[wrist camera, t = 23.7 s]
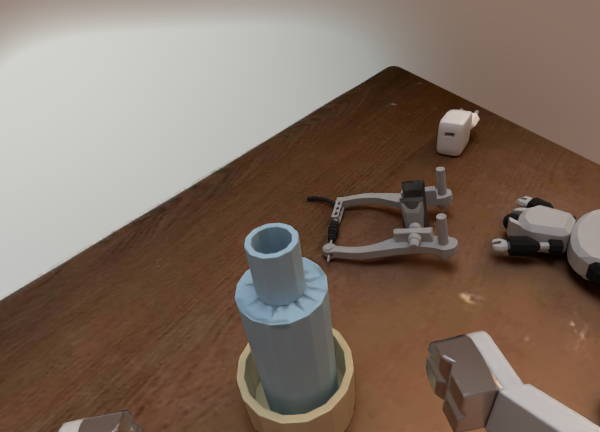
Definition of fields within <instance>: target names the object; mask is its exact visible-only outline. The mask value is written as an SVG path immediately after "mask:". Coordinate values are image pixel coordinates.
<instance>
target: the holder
mask: <svg viewBox="0 0 600 432" xmlns="http://www.w3.org/2000/svg"><path fill="white" fill-rule="evenodd" d="M332 332H333V342H334V351H335V360H336V370H337V379H338V389H339V390H338V391H337V392H336V393H335V394H334V395H333V396H332V397H331V398H330V400H329V401H328V402H327V403H326V404H325V405H323V406H321V407H318V408H316V409H314V410H312V411H310V412H308V413H306V414H295V415H281V414H278V413H276V412H273V411H271V410H270V408H269V405H268V402H267V399H266V396H265V393H264V390H263V386H262V383H261V380H260V377H259V374H258V371H257V367H256V364H255V361H254V358H253V355H252V352H251V348H250V345H249V342H248V344H247V346H246V347H245V349H244V351H243V353H242V354H241V356H240V358H239V364H238V371H237V383H238V386H239V389H240V392H241V395H242V398H243V401H244V404H245V406H246V409H247V412H248V414H249V417H250V419H251V422H252V425H253V427H254V429H255V430H256V431H257V432H344V431H345V430H346V428H347V427H348V425H349V423H350V421H351V418H352V416H353V412H354V407H355V400H356V398H355V382H354V368H353V360H352V352H351V349H350V348H349V346H348V344H347V343H346V341H345V340H344V338H343V336H342V335H341V334H340V333H339V332H338V331H337V330H335V329H334V328H332Z"/></svg>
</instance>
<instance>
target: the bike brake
mask: <svg viewBox="0 0 600 432" xmlns="http://www.w3.org/2000/svg"><path fill="white" fill-rule="evenodd" d="M436 177H437V189H435V186H432V187H425V185H424V180H417V181H405V182H401V183H402V191H401V194H397V193H366V194H359V195H353V196H347V197H339V198H337V200H336V203H335V202H333V201H332V200H330V199H327V198H324V197H316V196H311V197H307V200H320V201H324V202H327V203H329V204H331V205H332V206H333V207H334V209H333V212H332V215H331V218H332V222H331V223H330V226H329V230H328V234H329V235H328V241H329V242H330V243H328V244H326V245H324V246H323V252H324V255H325V257H326V258H327V262H329V260H330V259H333V258H343V259H369V258H376V257H385V256H392V255H402V254H419V253H420V254H433V255H437V257H438V258H440V259H441V260H442V261H447V260H449V258H450V257H451V256H453V255H455V254H456V253H457V252H458V241H457V240H456V239H455V238H452V237H449V236H448V229H447V217H446V215H445V214H442V213H441V214H438V215H437V216H436V222H437V233H438V236H434V233H433V229H432V228H427V226H429V222H428V213H427V206H437V207H439V208H440V209H441V210H446V209H447V207H448V206H449V205H450V202H452V200H453V196H452V192H451V190H449V189H446V178H445V168H444V167H438V168H436ZM359 204H382V205H386V206H391V207H395V208H401V212H402V219H403V226H404V229H393V233H394V238H392V239H389V240H386V241H383V242H380V243H376V244H373V245H368V246H362V247H342V246H336V245H334V244H332V243H334V242H335V239H336V236H337V235H338V231H339V229H338V227H339V223H340V221H341V218H342V214H343V211H344V207H347V206H353V205H359ZM340 209H342V211H340ZM335 213H336V214H335ZM334 214H335V215H334ZM339 214H341V215H340V216H339Z"/></svg>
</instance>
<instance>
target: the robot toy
mask: <svg viewBox="0 0 600 432" xmlns="http://www.w3.org/2000/svg"><path fill="white" fill-rule="evenodd" d="M517 205H519V206H520V207H523V208H517V209H515V210H513V213H511V214H508V215H507V216H505V217H504V220H503V225H504V227H505V228H506V229H507V235H508V241H506V240H503V239H501V238H499V239H494V240H493V241H492V249H493V250H494V251H496V252H501V253H502V252H505V251H508V253H509V255H510V256H529V255H531V254H533V253H535V252H545V253H550V254H562V252H565V251H566V249H567V257H568V262H569V264H570V265H571V267H572V268H573V269H574V271H575V272H577V273H578V274H579V275H580V276H582V277H583V278H584V279H586V280H589V281H591V282H594V283H597V284H600V209H599V210H594V211H591V212H589V213H586V214H585V215H583V216H582V217H581V218H580V219H579V220H578V221H577V222H576V223H575V221H576V217H574V216H572V215H571V214H569V213H566V212H563V211H560V210H557V209H554V208H553V206H552V205H551V203H549V202H546V201H544V200H542V199H540V198H533V199H532V198H530V197H526V196H525V197H522V198H521V199H518V200H517Z"/></svg>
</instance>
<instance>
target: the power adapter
mask: <svg viewBox="0 0 600 432" xmlns="http://www.w3.org/2000/svg"><path fill="white" fill-rule="evenodd" d="M478 114H479V111H478V110H476V111H475V112H474V113H471V112H470V111H464V110H463V109H460V110H450V111H448V112H447V113H446V115H445V116H444V117H443V118H442V119H441V121H440V124H439V130H438V140H437V152H438V153H441V154H446V155H452V156H458V155H460V154H461V153H462V151H463V150H464V148H465V147H466V145H467V143H468V141H469V136H470V130H471V129H472V128H473V127H474V126H475V125H476V124H477V122H478V121H479V119H480V118H479V117H478Z"/></svg>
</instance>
